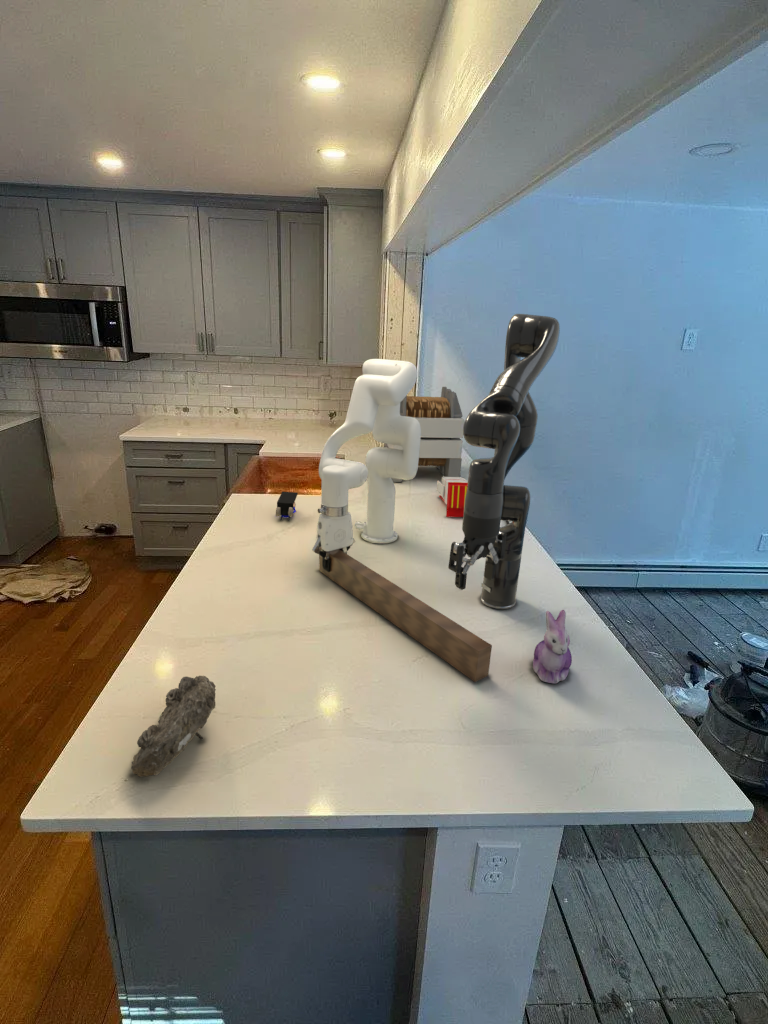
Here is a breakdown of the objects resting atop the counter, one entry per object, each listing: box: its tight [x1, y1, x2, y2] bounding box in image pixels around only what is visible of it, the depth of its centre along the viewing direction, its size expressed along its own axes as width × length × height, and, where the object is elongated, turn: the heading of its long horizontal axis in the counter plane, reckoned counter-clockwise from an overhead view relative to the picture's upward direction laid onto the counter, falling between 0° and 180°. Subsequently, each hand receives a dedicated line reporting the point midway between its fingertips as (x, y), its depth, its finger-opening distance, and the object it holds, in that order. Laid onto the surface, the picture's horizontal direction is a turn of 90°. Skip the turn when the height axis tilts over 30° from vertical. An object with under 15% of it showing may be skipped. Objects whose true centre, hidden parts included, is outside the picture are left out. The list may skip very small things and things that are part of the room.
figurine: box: [532, 609, 573, 684], centre depth 124 cm, size 9×10×15 cm
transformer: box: [383, 386, 466, 483], centre depth 268 cm, size 34×33×41 cm
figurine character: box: [275, 491, 299, 522], centre depth 211 cm, size 7×8×15 cm
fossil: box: [130, 675, 217, 778], centre depth 101 cm, size 22×10×15 cm
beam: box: [318, 547, 493, 683], centre depth 145 cm, size 64×4×8 cm, turn 37°
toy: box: [435, 476, 468, 518], centre depth 229 cm, size 12×13×30 cm
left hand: (333, 567), depth 166 cm, fingers closed on beam, 4 cm apart
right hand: (474, 583), depth 119 cm, fingers open, 8 cm apart
